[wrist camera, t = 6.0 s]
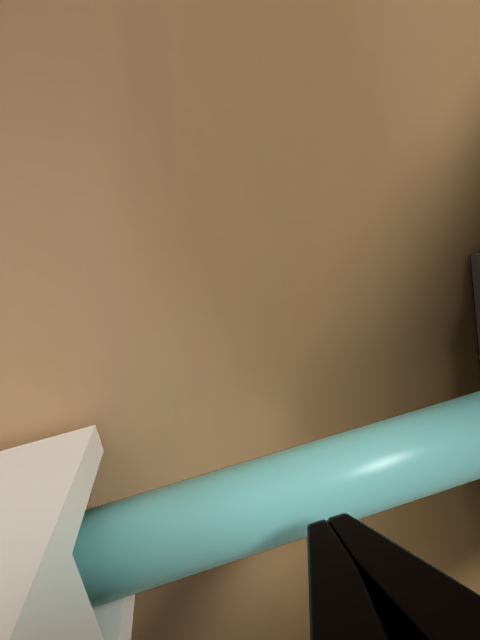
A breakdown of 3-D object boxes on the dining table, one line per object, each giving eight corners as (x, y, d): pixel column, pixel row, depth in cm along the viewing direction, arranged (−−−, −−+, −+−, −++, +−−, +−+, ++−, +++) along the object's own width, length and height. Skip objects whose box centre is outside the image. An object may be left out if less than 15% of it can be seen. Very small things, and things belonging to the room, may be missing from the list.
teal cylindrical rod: (556, 294, 13) (750, 318, 9) (561, 414, 14) (737, 490, 10) (-292, 526, 10) (-650, 747, 6) (-210, 661, 11) (-461, 939, 7)
